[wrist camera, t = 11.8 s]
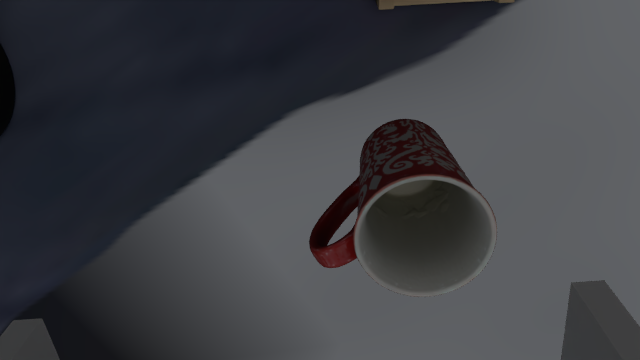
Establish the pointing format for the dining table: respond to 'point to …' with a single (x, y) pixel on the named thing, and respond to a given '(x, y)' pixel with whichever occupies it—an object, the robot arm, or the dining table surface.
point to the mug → (409, 215)
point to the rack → (422, 2)
